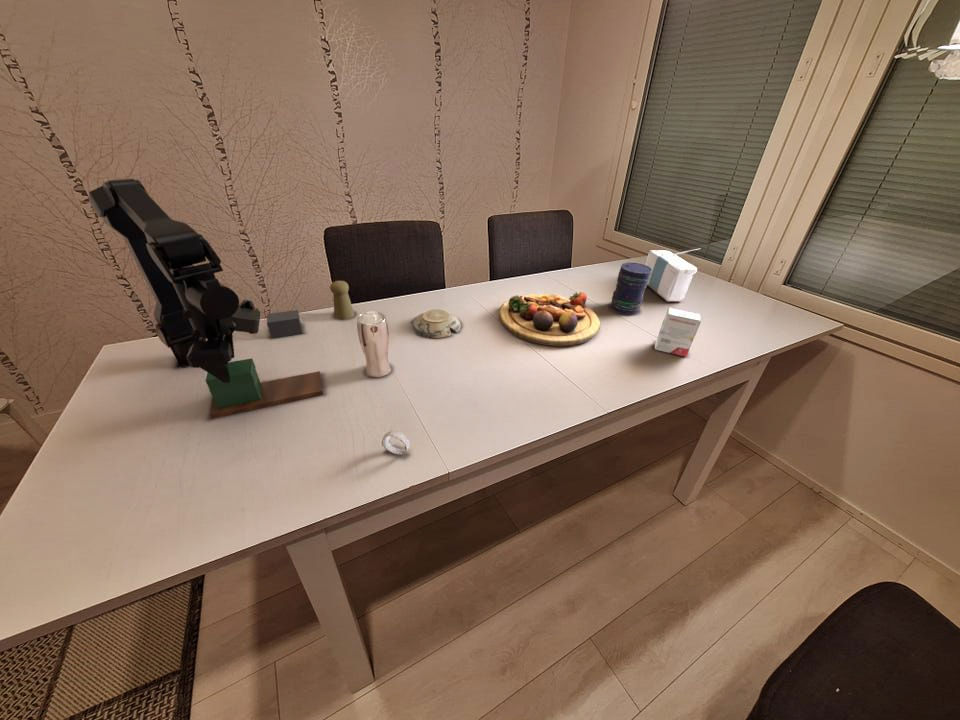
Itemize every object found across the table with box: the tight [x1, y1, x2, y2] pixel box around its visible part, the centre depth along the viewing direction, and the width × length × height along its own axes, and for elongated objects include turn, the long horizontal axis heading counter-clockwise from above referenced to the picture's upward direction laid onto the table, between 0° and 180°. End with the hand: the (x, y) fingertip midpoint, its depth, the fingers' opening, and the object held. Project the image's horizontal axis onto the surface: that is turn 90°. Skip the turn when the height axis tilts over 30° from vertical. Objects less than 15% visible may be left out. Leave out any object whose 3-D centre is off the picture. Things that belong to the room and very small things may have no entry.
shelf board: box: [208, 370, 324, 419], centre depth 83 cm, size 22×8×1 cm, turn 114°
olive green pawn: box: [329, 280, 355, 321], centre depth 113 cm, size 6×6×11 cm
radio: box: [644, 247, 702, 303], centre depth 138 cm, size 21×8×20 cm, turn 6°
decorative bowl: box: [412, 309, 461, 339], centre depth 112 cm, size 15×4×15 cm
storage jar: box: [609, 262, 652, 316], centre depth 126 cm, size 10×10×15 cm
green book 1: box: [208, 368, 259, 400], centre depth 79 cm, size 8×6×2 cm
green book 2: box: [214, 376, 262, 409], centre depth 80 cm, size 8×6×2 cm
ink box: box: [654, 307, 702, 357], centre depth 105 cm, size 9×5×12 cm, turn 65°
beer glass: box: [356, 310, 392, 378], centre depth 89 cm, size 7×7×15 cm
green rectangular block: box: [205, 357, 257, 390], centre depth 78 cm, size 8×6×2 cm
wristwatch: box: [381, 430, 411, 456], centre depth 70 cm, size 3×5×5 cm, turn 73°
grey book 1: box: [266, 309, 301, 332], centre depth 104 cm, size 8×6×2 cm
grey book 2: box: [268, 319, 304, 339], centre depth 106 cm, size 8×6×2 cm
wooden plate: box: [498, 291, 601, 347], centre depth 117 cm, size 32×32×8 cm
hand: (229, 369), depth 77 cm, fingers open, 9 cm apart
